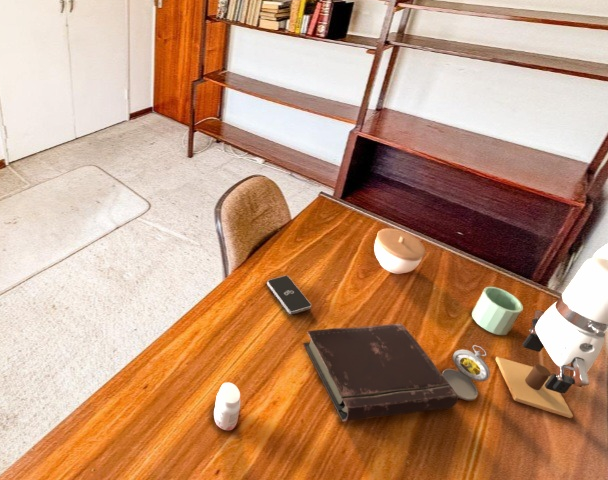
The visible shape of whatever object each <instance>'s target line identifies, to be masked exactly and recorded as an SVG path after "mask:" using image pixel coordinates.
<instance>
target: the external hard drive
mask: <svg viewBox="0 0 608 480" xmlns="http://www.w3.org/2000/svg"><path fill="white" fill-rule="evenodd" d="M266 287H267V288H268V289H269V290H270V292H271V293H272V295H273V296H274V297H275V299H276V300H277V301H278V303H279V304H280V305H281V307H282V308H283V309H284V311H285V312H286V314H287V315H288V316H289V317H291V316H295V315H298V314H301V313H305V312H308V311H310V310H311V308H312V303H311V302H310V301H309V299H308V298H307V297H306V296H305V295H304V293H303V292H302V291H301V289H300V288H299V287H298V286H297V285H296V284H295V282H294V281H293V279H292V278H291V277H290V276H289V275H282V276H278V277H275V278H270V279H268V280H267V282H266Z"/></svg>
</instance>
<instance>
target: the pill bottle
mask: <svg viewBox="0 0 608 480" xmlns="http://www.w3.org/2000/svg"><path fill="white" fill-rule="evenodd" d="M241 403H242V401H241V391H240V390H239V388H238V386H236V385H235V383H232V382H224V383H222V384H221V386H220V388H219V390H218V392H217V395H216V398H215V405H214V410H213V419H214V423H215V424H216V426H218V427H219V428H220V429H221V430H224V431H232V430H233V429H234V428H235V427H236V426H237V423H238V420H239V415H240V410H241V405H242V404H241Z"/></svg>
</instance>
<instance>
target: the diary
mask: <svg viewBox="0 0 608 480" xmlns="http://www.w3.org/2000/svg"><path fill="white" fill-rule="evenodd" d="M306 333H307V335H308V337H309V339H310V342H303V343H302V344H303V346H304V348H305V350H306V352H307V354H308V357H309V358H310V360H311V362H312V364H313V366H314V368H315V370H316V372H317V374H318V376H319V378H320V380H321V382H322V384H323V386H324V388H325V390H326V392H327V394H328V396H329V398H330V399H331V401H332V404H333V406H334V408H335V410H336V411H337V413H338V414H337V415H338V416H339V417H340V420H341V421H342V422H350V421H358V420H363V419H370V418H378V417H386V416H387V417H388V416H389V417H390V416H397V415H406V414H411V413H417V412H424V411H425V412H426V411H433V410H445V409H452V408H454V407H455V406H456V404H457V403H458V400H459V397H458V394H457V393H456V392H455V391H454V389H453V388H452V387H451V386H450V384H449V383H448V382H447V380H446V379H445V378H444V377H443V375H442V372H441V371H440V369H438V367H437V366H436V364H435V363H434V362H433V360H432V359H431V357H430V356H429V355H428V354H427V353H426V351H425V350H424V349H423V348H422V346H421V344H419V342H418V341H417V340H416V339H415V337H414V336H413V335H412V334H411V333H410V331H409V330H408V329H407V328H406V327H405V326H404V324H403V323H390V324H389V323H388V324H379V325H367V326H357V327H339V328H337V327H336V328H335V327H334V328H324V329H315V330H314V329H313V330H306Z"/></svg>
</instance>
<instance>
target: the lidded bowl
mask: <svg viewBox="0 0 608 480" xmlns="http://www.w3.org/2000/svg"><path fill="white" fill-rule="evenodd" d="M373 250H374V255H375V258H376V260H377V261H378V263H379V265H380V266H381V267H382V268H383V269H384V270H386V271H387V272H389V273H392V274H396V275H401V274H406V273H410V272H412V271H414V270H415V269H416V268H418V266H419V265H420V263H421V262H422V260H423V258H424V257H425V255H426V248H425V246H424V244H423V243H422V242H421V241H420V240H419V239H418V238H417V237H415V236H414V235H412V234H411V233H409V232H406V231H403V230H401V229H397V228H391V227H388V228H387V227H386V228H382V229H379V231H378V232H377V235H376V237H375V241H374V248H373Z"/></svg>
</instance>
